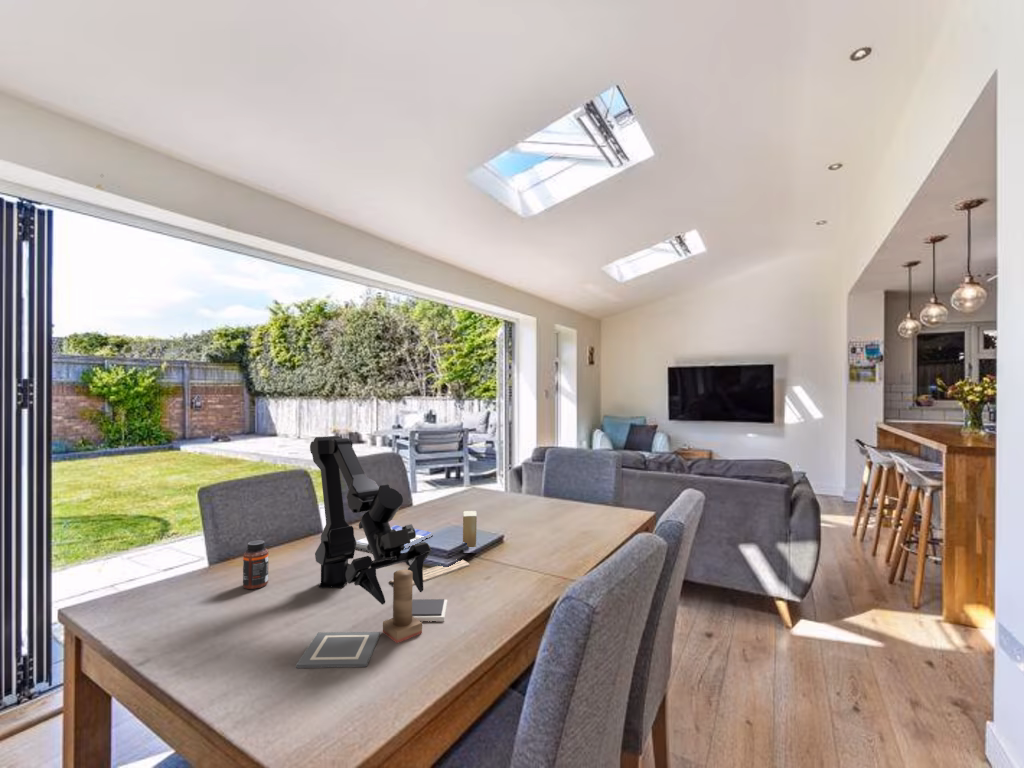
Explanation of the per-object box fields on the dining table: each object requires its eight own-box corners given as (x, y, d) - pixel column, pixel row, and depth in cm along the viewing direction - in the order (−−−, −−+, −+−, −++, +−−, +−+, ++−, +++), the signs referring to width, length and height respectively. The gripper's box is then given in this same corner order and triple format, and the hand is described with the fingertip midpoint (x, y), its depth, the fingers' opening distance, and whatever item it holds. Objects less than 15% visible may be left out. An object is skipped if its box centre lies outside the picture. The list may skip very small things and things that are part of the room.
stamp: (382, 632, 106) (383, 572, 106) (407, 623, 110) (408, 565, 110) (397, 643, 101) (397, 580, 101) (421, 633, 105) (422, 573, 105)
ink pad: (403, 621, 110) (403, 615, 110) (410, 604, 119) (410, 598, 119) (444, 621, 111) (444, 615, 111) (447, 603, 120) (447, 597, 120)
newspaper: (401, 592, 128) (401, 585, 128) (386, 584, 133) (386, 577, 133) (469, 568, 145) (469, 562, 145) (454, 562, 150) (454, 556, 150)
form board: (296, 667, 92) (296, 664, 92) (318, 635, 104) (318, 632, 104) (366, 666, 93) (366, 663, 93) (380, 634, 104) (380, 631, 104)
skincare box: (462, 547, 161) (463, 510, 161) (476, 547, 161) (476, 510, 161) (462, 554, 154) (462, 515, 154) (476, 554, 155) (476, 515, 155)
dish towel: (348, 549, 160) (348, 540, 160) (396, 530, 181) (396, 523, 181) (389, 558, 152) (389, 549, 152) (435, 537, 173) (435, 529, 173)
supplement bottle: (273, 583, 130) (274, 540, 130) (253, 591, 125) (253, 547, 125) (257, 579, 133) (258, 537, 133) (237, 587, 128) (238, 543, 128)
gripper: (351, 521, 103) (376, 590, 95) (427, 507, 116) (455, 567, 107) (335, 550, 109) (357, 617, 100) (409, 533, 121) (434, 592, 113)
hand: (403, 597), depth 105 cm, fingers open, 9 cm apart
